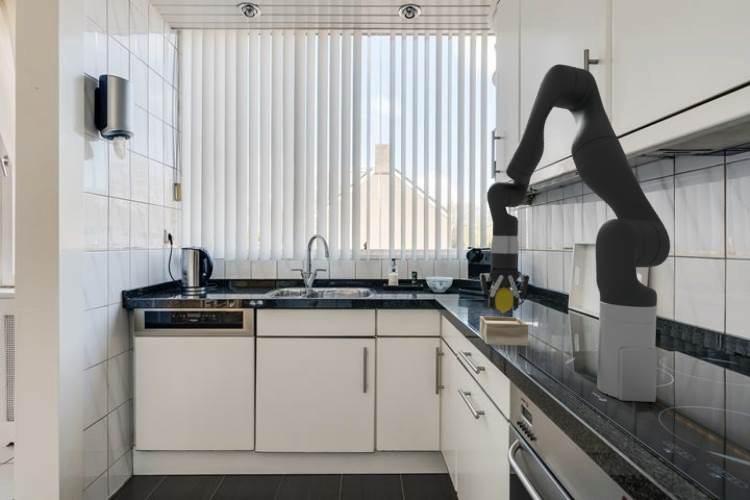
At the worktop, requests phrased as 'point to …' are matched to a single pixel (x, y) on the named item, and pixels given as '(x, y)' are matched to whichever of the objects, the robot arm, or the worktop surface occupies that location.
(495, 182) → the robot arm
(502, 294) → the lemon
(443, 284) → the chinaware
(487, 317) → the wooden box
